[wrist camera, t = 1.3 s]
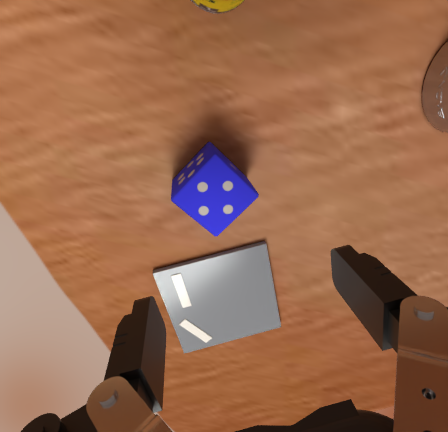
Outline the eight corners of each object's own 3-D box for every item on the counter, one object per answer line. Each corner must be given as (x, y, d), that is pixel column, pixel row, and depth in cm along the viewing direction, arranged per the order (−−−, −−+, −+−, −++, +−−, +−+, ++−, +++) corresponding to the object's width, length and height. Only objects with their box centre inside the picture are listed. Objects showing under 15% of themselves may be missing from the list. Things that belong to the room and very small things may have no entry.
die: (247, 177, 28) (260, 195, 23) (210, 213, 29) (216, 238, 24) (209, 140, 26) (215, 152, 22) (171, 180, 27) (169, 200, 23)
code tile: (264, 240, 31) (266, 244, 30) (279, 323, 36) (281, 327, 36) (153, 270, 31) (152, 274, 30) (184, 349, 36) (184, 354, 35)
